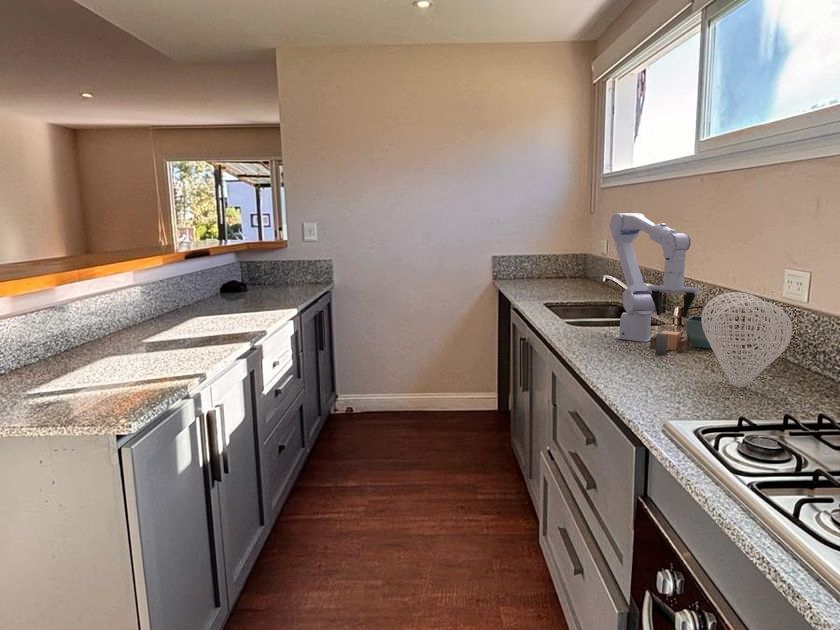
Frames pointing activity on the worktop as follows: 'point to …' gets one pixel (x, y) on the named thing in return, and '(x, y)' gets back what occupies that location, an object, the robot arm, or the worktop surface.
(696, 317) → the flower pot
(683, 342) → the lane
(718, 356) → the heart
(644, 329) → the robot arm
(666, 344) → the tethered block
